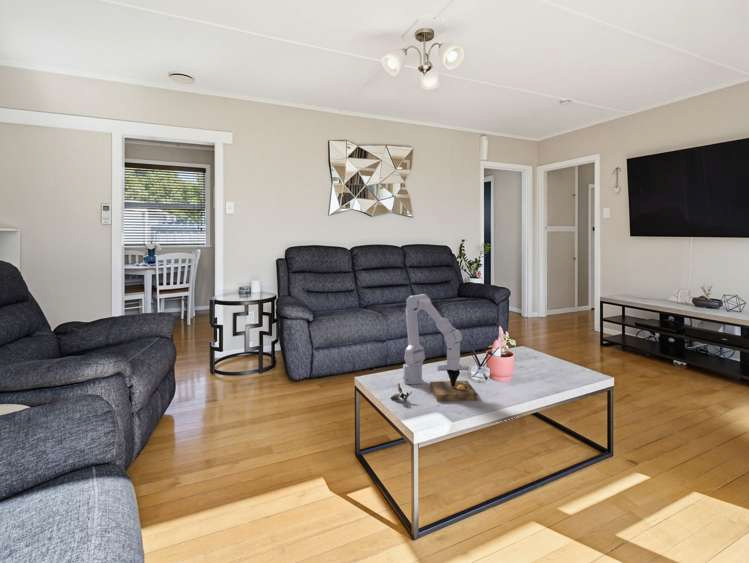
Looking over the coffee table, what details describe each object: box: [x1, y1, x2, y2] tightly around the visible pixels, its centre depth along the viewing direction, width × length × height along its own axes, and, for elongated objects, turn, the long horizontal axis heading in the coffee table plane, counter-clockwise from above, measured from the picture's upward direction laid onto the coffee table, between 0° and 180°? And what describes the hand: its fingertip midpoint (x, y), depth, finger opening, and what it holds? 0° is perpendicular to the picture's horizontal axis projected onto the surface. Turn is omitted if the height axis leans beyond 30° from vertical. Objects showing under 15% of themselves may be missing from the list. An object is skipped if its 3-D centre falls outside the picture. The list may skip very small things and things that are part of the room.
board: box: [429, 380, 478, 402], centre depth 185 cm, size 18×16×3 cm
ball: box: [457, 385, 465, 390], centre depth 185 cm, size 4×4×4 cm
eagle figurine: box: [390, 382, 413, 403], centre depth 179 cm, size 8×7×9 cm
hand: (452, 385), depth 185 cm, fingers closed
